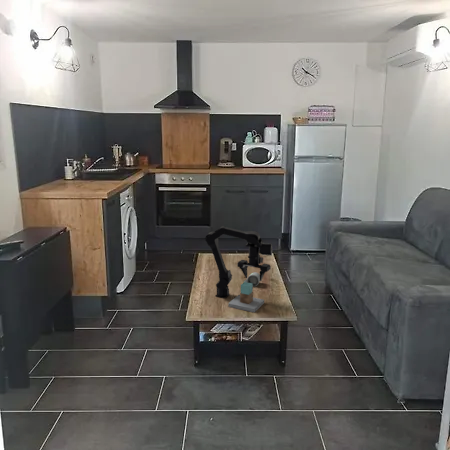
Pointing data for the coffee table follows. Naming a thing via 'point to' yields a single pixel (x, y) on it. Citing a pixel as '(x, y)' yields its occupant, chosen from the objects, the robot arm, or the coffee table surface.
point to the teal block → (246, 288)
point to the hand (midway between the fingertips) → (253, 279)
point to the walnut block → (246, 298)
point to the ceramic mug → (253, 279)
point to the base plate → (247, 307)
